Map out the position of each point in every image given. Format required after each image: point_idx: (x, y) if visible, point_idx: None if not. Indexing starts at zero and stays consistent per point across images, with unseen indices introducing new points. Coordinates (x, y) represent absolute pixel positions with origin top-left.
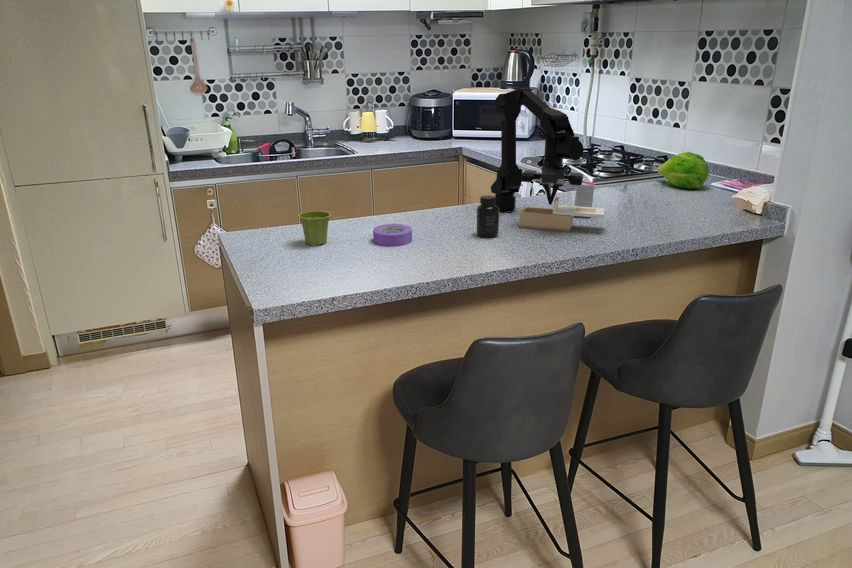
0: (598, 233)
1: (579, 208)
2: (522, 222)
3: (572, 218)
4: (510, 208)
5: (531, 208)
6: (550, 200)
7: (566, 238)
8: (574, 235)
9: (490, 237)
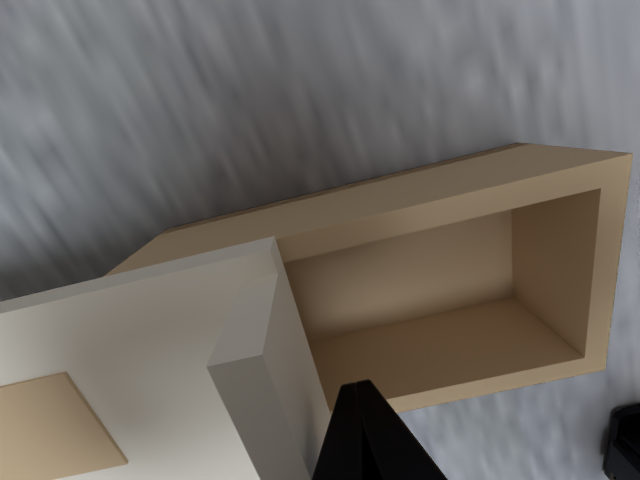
0: (3, 287)
1: (87, 452)
2: (522, 153)
3: None
4: (638, 439)
5: (531, 363)
6: (360, 421)
7: (89, 43)
8: (91, 162)
9: None
